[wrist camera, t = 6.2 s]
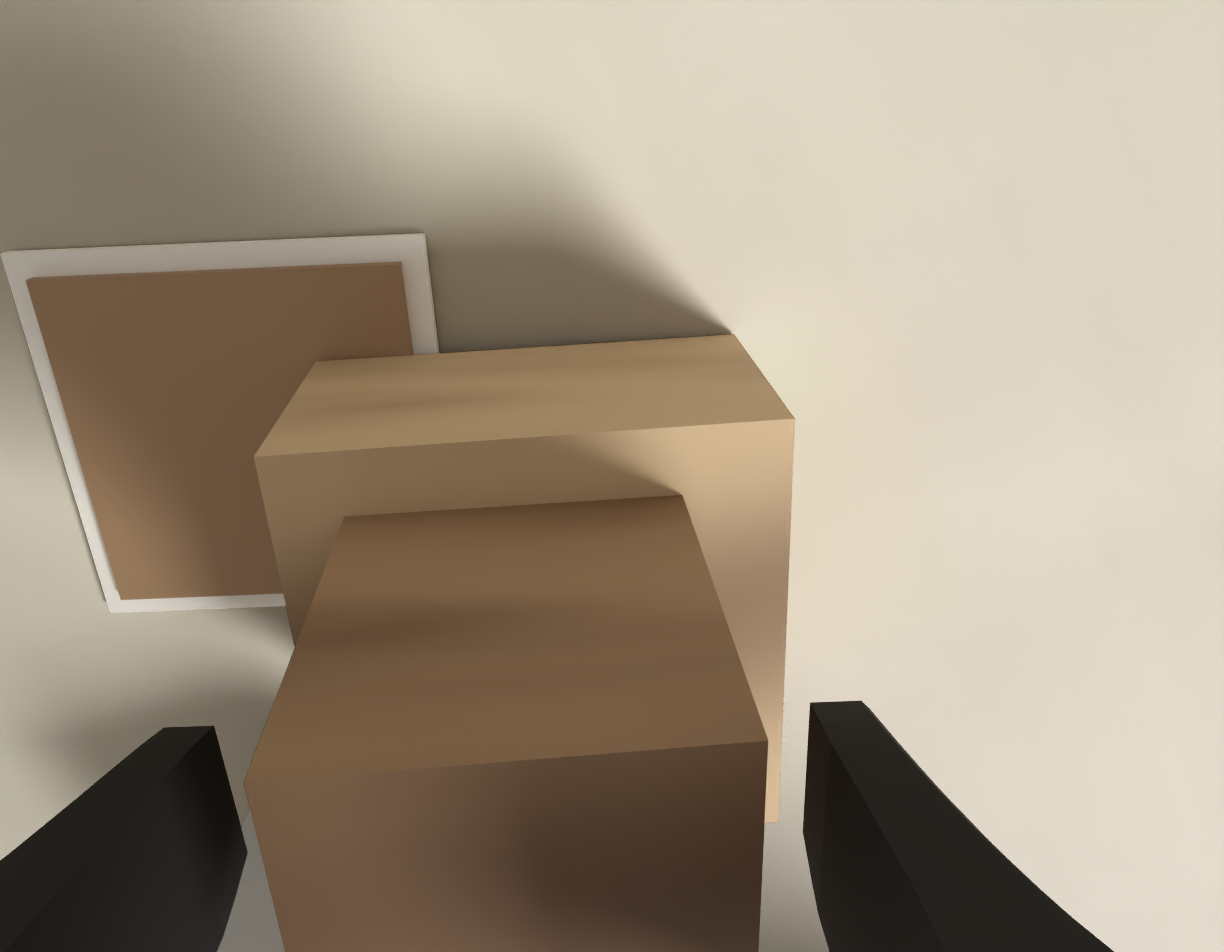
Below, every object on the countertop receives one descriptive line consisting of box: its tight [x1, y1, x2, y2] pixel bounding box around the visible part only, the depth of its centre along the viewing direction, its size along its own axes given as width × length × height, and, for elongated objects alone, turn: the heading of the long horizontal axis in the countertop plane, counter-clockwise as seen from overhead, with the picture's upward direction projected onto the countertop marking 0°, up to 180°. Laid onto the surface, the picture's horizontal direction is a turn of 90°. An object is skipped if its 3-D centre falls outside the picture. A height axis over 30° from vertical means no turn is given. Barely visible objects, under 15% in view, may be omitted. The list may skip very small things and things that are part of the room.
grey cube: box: [217, 809, 285, 952], centre depth 19 cm, size 4×4×5 cm
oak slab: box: [254, 334, 795, 823], centre depth 16 cm, size 7×7×4 cm
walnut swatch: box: [0, 233, 439, 613], centre depth 17 cm, size 7×7×1 cm
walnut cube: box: [244, 495, 768, 952], centre depth 11 cm, size 4×4×5 cm
